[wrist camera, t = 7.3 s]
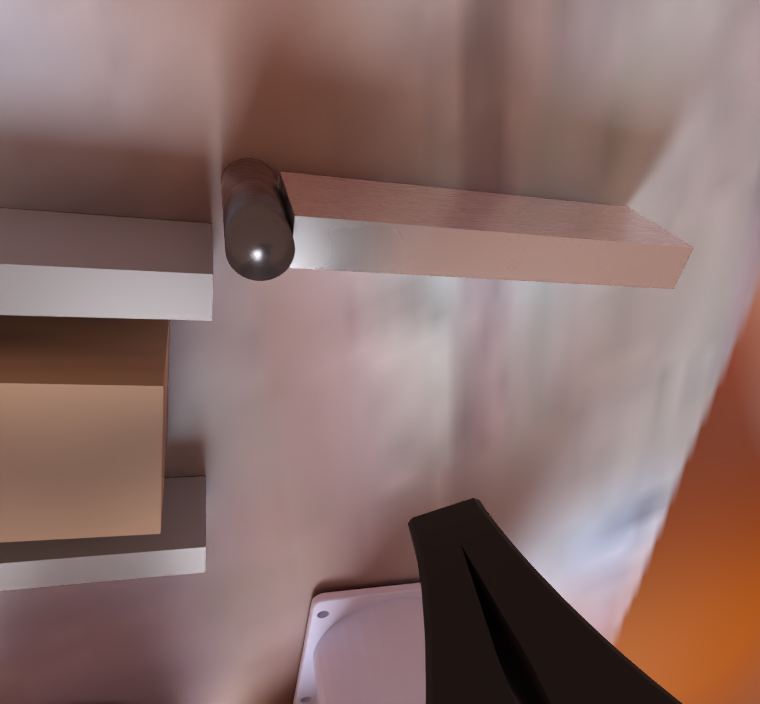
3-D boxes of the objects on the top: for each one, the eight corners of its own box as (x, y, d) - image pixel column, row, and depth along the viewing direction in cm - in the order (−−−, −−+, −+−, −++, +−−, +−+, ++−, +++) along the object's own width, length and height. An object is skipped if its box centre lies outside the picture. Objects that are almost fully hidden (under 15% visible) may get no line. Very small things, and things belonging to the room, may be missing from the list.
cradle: (205, 500, 21) (204, 572, 19) (-105, 518, 18) (-151, 604, 16) (211, 223, 16) (213, 274, 13) (-228, 190, 13) (-326, 247, 11)
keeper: (220, 209, 15) (224, 279, 12) (221, 155, 15) (226, 214, 12) (602, 240, 19) (683, 301, 16) (619, 197, 18) (708, 252, 15)
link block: (167, 436, 19) (160, 533, 16) (-49, 437, 18) (-104, 547, 14) (170, 302, 17) (163, 385, 14) (-82, 287, 15) (-159, 380, 12)
